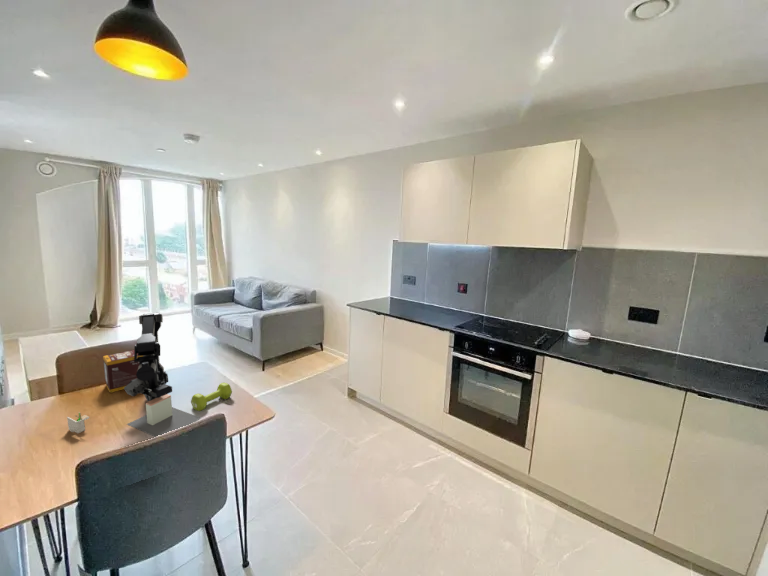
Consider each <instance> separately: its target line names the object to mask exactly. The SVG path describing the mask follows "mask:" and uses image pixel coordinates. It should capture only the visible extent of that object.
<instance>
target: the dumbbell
mask: <svg viewBox="0 0 768 576" xmlns="http://www.w3.org/2000/svg"><path fill="white" fill-rule="evenodd" d="M232 393H233V390H232V387H231V385H230V383H227V382H221V383H219V385H218V386H217V390H216V391H212V392H210V393H209V394H206V395H204V394H202V393H195V394H194V395H192V396H191V399H190V403H191V406H192V408H193V409H194V410H195V411H197V412H198V411H199V412H200V411H203V410H205V409H206V407H207V405H208V403H209V402H211V401H214V400H216V399H218V398H220V399H221V400H228V399H229V398H231V397H232V396H231V395H232Z"/></svg>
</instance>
